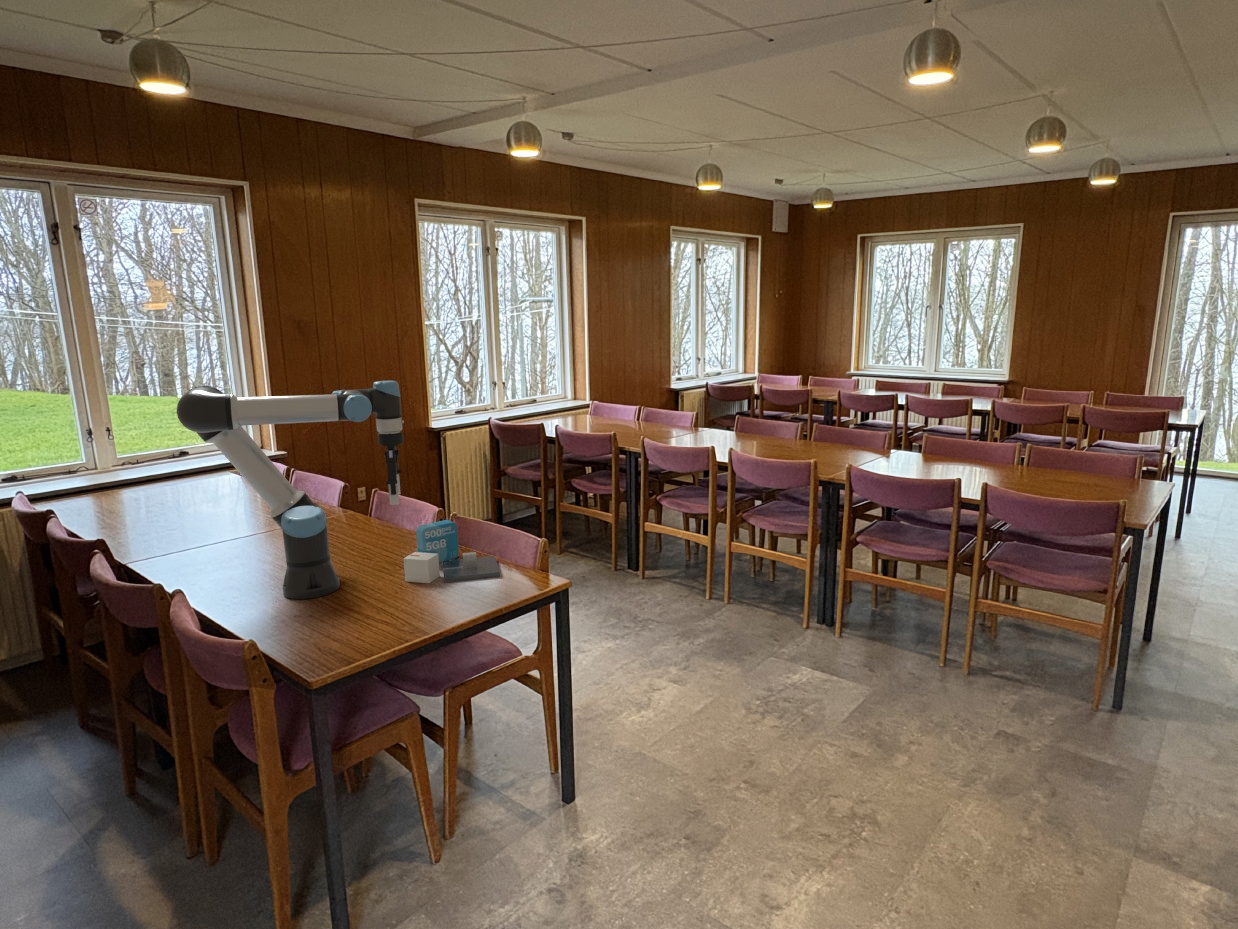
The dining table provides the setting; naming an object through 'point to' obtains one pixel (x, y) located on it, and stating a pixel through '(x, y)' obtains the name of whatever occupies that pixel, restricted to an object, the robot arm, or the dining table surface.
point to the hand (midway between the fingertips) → (395, 499)
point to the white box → (421, 567)
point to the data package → (438, 539)
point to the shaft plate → (470, 568)
